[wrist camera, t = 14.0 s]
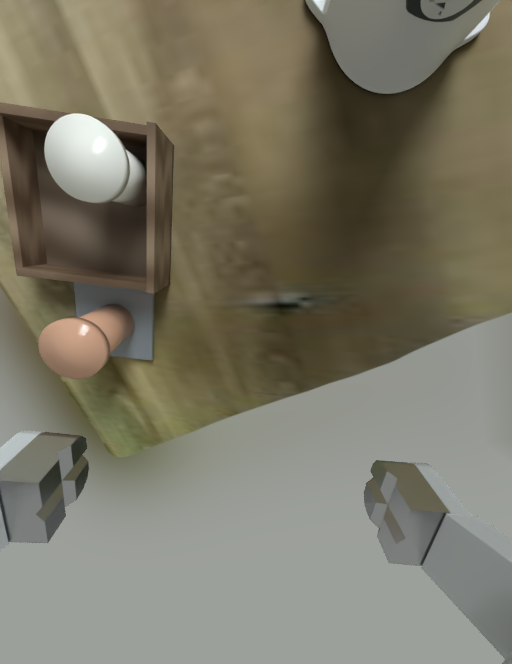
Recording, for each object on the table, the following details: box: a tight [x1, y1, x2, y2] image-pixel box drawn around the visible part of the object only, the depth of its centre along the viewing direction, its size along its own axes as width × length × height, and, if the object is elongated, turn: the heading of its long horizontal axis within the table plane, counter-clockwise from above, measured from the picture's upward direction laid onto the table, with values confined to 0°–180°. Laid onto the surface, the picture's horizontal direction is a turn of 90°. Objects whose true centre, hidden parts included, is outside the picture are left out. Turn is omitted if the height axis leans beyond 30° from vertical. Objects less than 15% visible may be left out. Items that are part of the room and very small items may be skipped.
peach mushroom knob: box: [39, 304, 135, 379], centre depth 33 cm, size 6×6×10 cm
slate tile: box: [74, 282, 154, 360], centre depth 38 cm, size 10×10×1 cm
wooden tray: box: [0, 103, 174, 294], centre depth 31 cm, size 16×16×7 cm
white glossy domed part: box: [44, 113, 147, 207], centre depth 28 cm, size 6×6×10 cm
